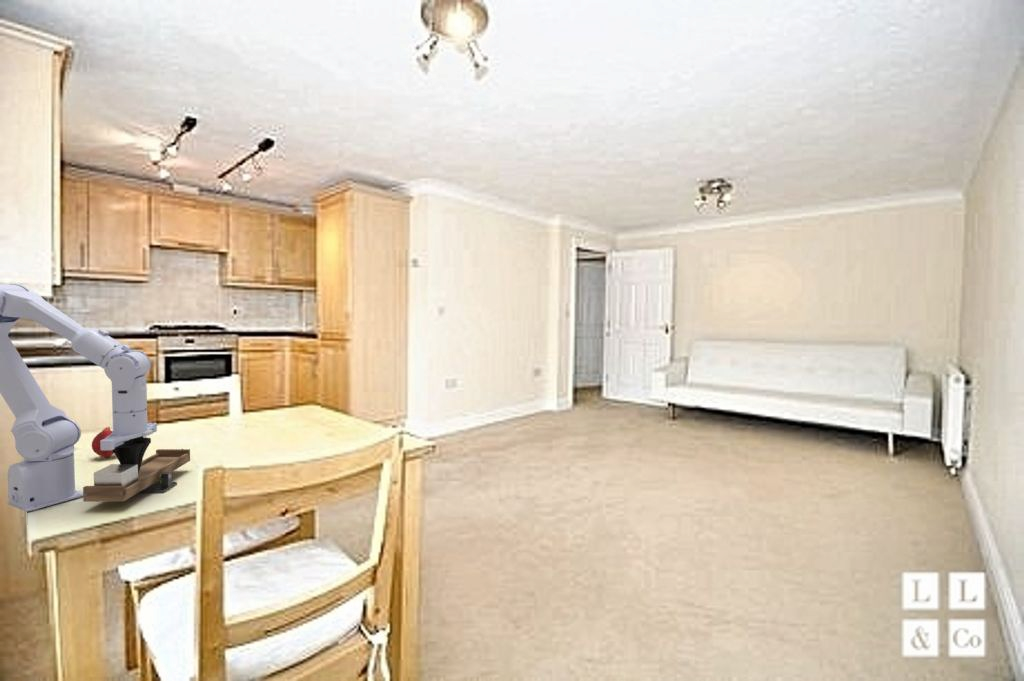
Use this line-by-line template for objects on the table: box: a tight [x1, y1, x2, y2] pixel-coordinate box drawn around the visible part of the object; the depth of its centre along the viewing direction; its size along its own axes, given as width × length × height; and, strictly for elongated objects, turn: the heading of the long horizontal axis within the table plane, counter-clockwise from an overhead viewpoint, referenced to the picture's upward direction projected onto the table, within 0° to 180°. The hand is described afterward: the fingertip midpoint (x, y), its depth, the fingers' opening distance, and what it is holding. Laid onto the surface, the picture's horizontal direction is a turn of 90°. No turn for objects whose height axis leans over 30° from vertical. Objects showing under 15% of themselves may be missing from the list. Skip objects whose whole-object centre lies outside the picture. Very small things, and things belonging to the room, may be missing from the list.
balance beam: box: [82, 448, 191, 503], centre depth 109 cm, size 24×8×3 cm, turn 6°
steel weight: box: [93, 463, 138, 488], centre depth 100 cm, size 5×5×4 cm
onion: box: [91, 426, 115, 459], centre depth 128 cm, size 6×6×8 cm
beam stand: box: [137, 472, 178, 494], centre depth 109 cm, size 5×11×4 cm, turn 96°
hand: (131, 474), depth 105 cm, fingers closed
